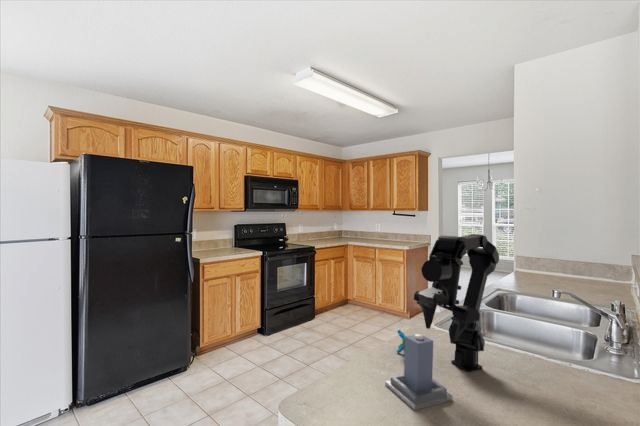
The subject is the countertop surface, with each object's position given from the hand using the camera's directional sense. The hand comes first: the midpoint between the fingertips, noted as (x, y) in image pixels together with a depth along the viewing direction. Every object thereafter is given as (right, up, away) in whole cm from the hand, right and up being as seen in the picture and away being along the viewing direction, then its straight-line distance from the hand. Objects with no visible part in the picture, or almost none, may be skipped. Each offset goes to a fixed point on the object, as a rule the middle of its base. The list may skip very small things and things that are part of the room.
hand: (440, 334), depth 89 cm
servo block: (-8, -12, -6) cm, 16 cm away
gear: (-4, -13, +17) cm, 22 cm away
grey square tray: (-8, -13, -6) cm, 16 cm away
